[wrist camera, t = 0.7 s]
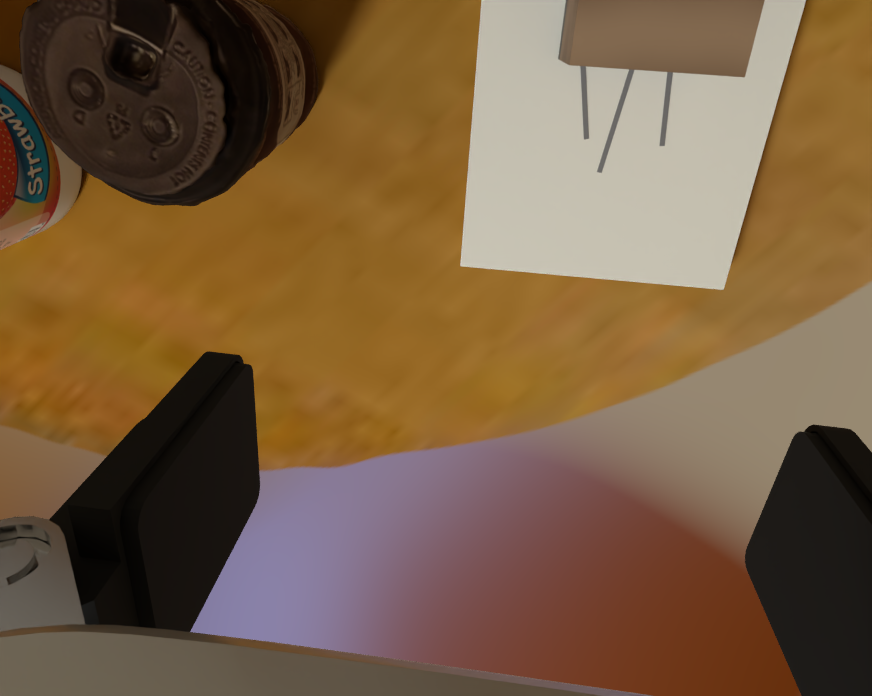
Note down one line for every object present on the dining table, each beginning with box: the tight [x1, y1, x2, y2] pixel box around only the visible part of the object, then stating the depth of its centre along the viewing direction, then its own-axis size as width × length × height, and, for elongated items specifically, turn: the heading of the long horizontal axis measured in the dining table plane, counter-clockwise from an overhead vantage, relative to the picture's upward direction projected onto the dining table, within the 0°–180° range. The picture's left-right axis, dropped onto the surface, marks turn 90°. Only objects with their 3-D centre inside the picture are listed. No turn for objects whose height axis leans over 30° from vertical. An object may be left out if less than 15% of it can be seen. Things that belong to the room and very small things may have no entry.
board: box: [460, 0, 806, 290], centre depth 30 cm, size 20×14×2 cm
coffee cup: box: [19, 0, 318, 206], centre depth 27 cm, size 9×8×13 cm
